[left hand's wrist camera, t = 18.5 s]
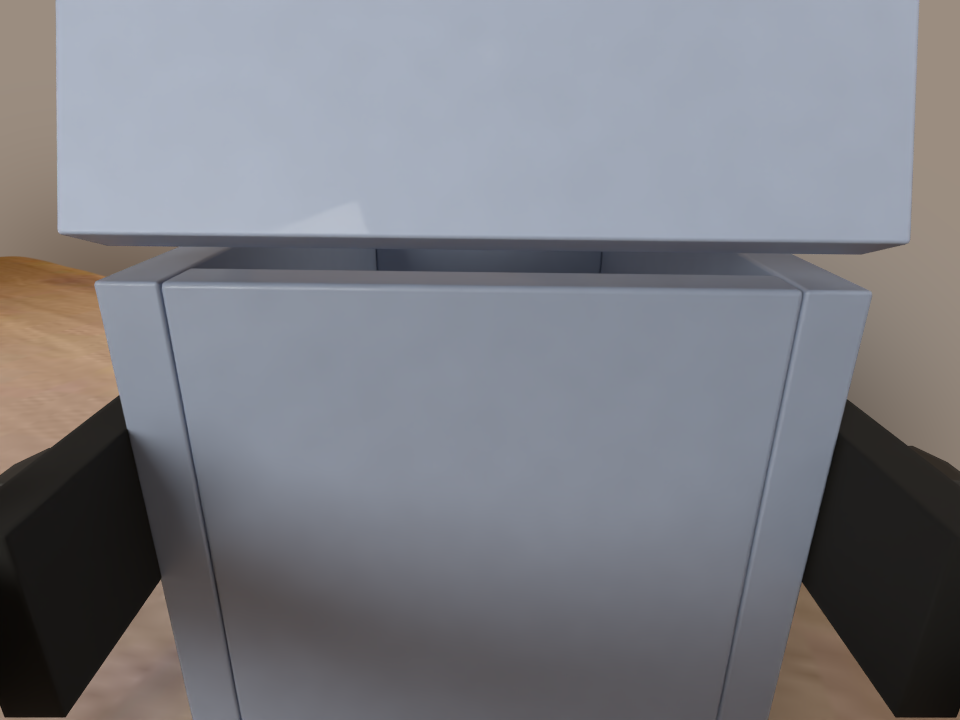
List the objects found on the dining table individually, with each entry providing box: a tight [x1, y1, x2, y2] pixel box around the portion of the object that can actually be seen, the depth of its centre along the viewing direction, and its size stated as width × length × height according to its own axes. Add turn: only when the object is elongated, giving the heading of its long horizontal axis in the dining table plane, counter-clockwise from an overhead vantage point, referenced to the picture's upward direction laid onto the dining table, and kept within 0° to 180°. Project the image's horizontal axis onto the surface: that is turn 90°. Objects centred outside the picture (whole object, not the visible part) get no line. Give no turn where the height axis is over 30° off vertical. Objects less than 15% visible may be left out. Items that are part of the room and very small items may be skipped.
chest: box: [95, 247, 872, 720], centre depth 17 cm, size 16×10×10 cm, turn 179°
